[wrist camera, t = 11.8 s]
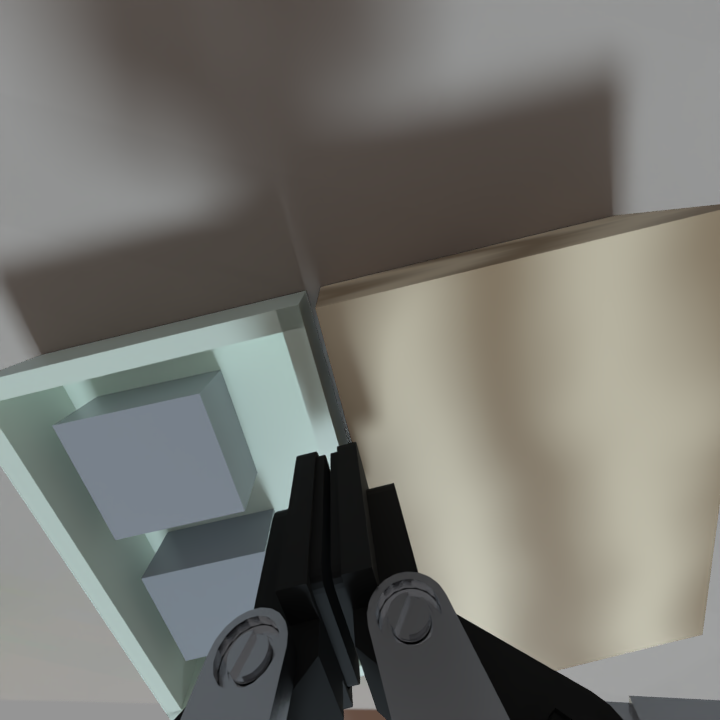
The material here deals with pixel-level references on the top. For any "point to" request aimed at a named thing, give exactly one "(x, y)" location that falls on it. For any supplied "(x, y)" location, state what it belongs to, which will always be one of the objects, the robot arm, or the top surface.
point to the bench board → (549, 426)
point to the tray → (146, 367)
